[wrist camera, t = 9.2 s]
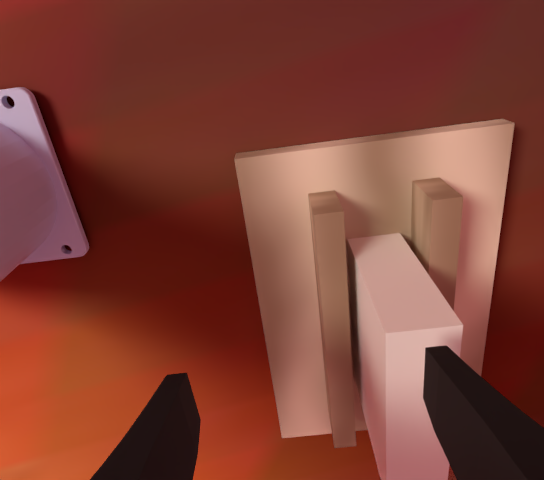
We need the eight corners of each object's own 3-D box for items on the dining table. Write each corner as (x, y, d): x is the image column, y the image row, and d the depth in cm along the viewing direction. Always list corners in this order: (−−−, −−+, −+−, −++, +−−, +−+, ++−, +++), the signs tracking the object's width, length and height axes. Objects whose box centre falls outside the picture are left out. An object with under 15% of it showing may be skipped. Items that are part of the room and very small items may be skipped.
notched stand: (281, 424, 27) (283, 476, 23) (235, 153, 19) (229, 176, 16) (468, 406, 26) (495, 456, 23) (502, 118, 18) (551, 135, 15)
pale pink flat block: (354, 378, 24) (386, 501, 17) (347, 238, 20) (385, 333, 13) (398, 373, 23) (447, 495, 17) (400, 232, 19) (464, 324, 13)
